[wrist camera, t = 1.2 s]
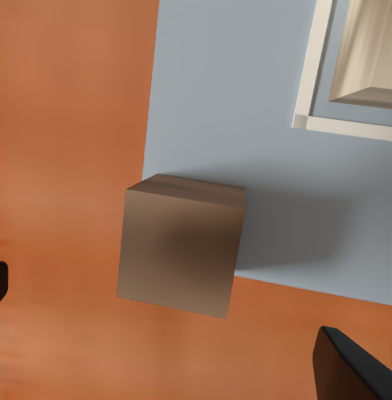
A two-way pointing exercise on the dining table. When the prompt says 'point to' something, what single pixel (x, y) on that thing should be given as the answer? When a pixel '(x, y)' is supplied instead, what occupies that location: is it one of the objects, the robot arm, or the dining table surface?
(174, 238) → the walnut cube
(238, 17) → the build board
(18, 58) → the dining table surface
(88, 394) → the dining table surface
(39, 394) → the dining table surface
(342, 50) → the beech block
